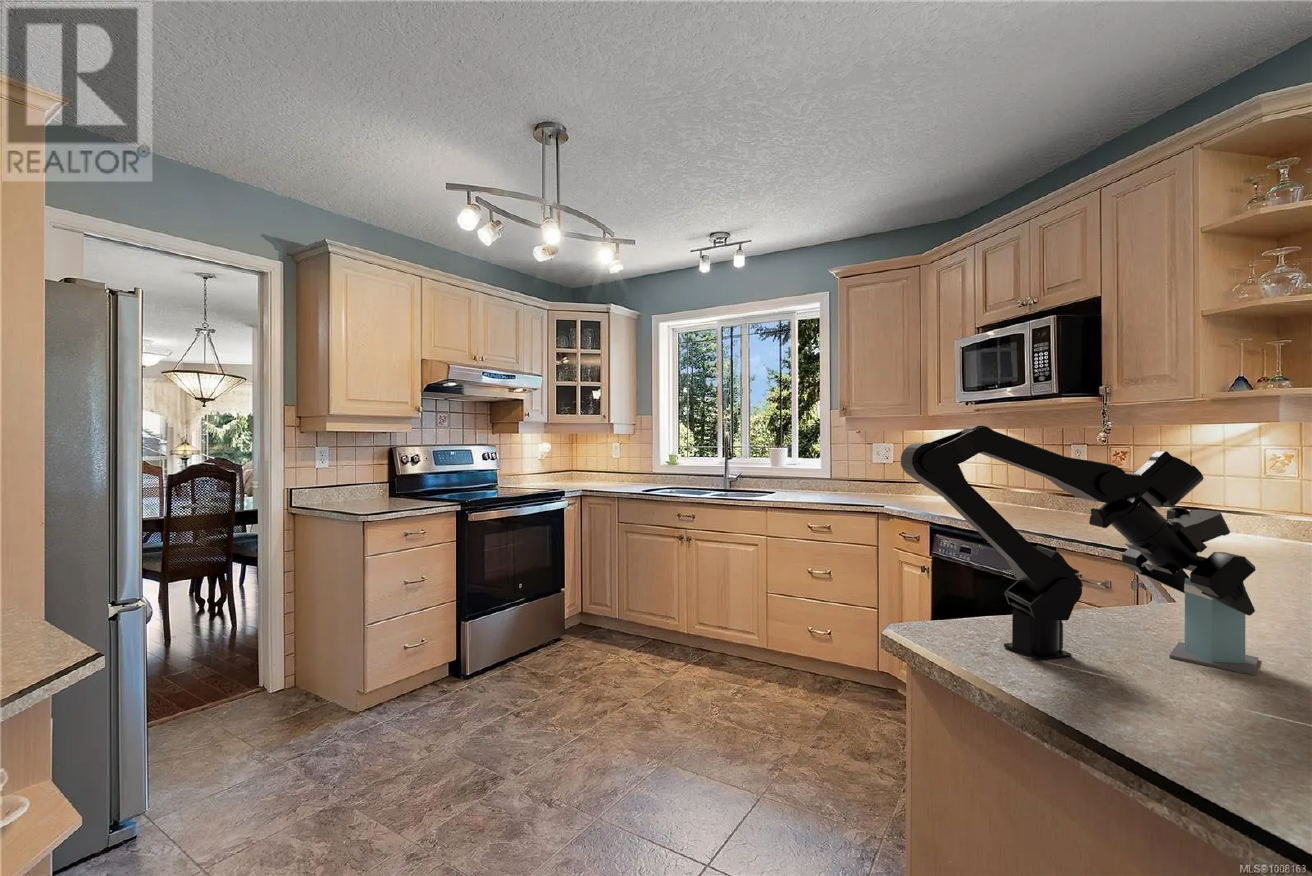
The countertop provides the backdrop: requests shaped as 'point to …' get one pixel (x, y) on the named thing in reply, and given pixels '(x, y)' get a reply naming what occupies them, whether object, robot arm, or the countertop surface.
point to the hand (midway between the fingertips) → (1224, 604)
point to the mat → (1246, 667)
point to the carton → (1213, 628)
